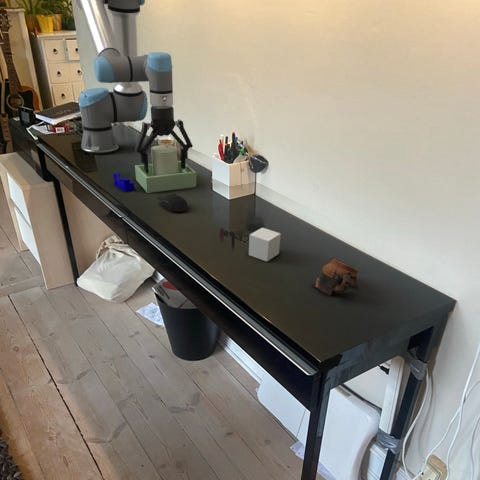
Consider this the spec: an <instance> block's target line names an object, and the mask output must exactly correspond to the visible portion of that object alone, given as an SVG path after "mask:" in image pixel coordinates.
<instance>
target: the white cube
mask: <svg viewBox="0 0 480 480" xmlns="http://www.w3.org/2000/svg"><path fill="white" fill-rule="evenodd" d="M281 236H282V234H281V233H280V232H277V231H274V230H271V229H268V228H265V227H261V228H259V229H257V230H255V231H253V232H252V233H250V234H249V238H248V239H249V241H248V256H250V257H253V258H256V259H258V260H262V261H264V262H269V261H271V260H272V259H273V258H275V257H276V256H278V255H279V254H280V247H281Z"/></svg>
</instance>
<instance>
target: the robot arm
mask: <svg viewBox="0 0 480 480" xmlns="http://www.w3.org/2000/svg"><path fill="white" fill-rule="evenodd" d="M75 1H76V2H75V3H76V4H77V6H78V8H79V9H80V10H81V11H82V14H83V16H84V20H85V23H86V27H87V30H88V32H89V35H90V38H91V41H92V45H93V49H94V52H95V54H96V56H95V57H94V59H93V70H94V71H93V72H94V74H95V78H96V81H98V82H99V83H102V84H103V83H104V84H114V85H113V86H112V88H113V90H112V91H109V89H108V88H106V87H93V88H88V89H86V90H83V91H81V92H80V93H79V95H78V96H79V97H78V100H79V107H80V114H81V115H80V116H81V120H82V121H81V122H82V130H83V133H81V132H80V127H81V126H80V123H79V121H78V120H76V119H74V120H72V121H73V122H75V123H76V124H77V133H78V135H80V136H81V137H82V138H81V143H80V144H81V146H80V147H81V151H82V152H83V153H86V154H90V155H108V154H112V153H116V152H117V151H119V149H120V148H119V142H118V140H117V138H116V135H115V133H114V131H113V123H131V122H133V123H135V122H140V121H142V123H141V130H140V133H139V135H138V138H137V141H136V144H135V146H134V151H135V152H136V153H138V154H140V162H141V163H142V164H143V165H144V171H145V172H146V173H149V169H148V164H149V157H148V153H147V151H148V150H149V148H150V147H151V145H152V144H153V142H154V141H155V139H156V138H157V137H158V136H159V137H163V136H166V137H169V135H170V136H172V137H173V139H174V140H176V142H177V144H179V145H180V146H181V148H180V149H179V151H180V161H181V167H182V168H183V169H186V166H185V163H186V160H187V159H188V158H189V155H188V153H189V152H188V151H189V150H190V149H192V148H193V147H194V145H193V142H192V141H191V139H190V137H189V135H188V133H187V131H186V129H185V125H184V121H183V120H181V119H180V118H179V119H177V120H175V114H174V112H175V111H174V110H175V109H174V107H173V105H174V91H173V90H174V89H173V88H174V87H173V62H172V56H171V54H170V53H168V52H163V51H161V52H160V51H158V52H156V51H155V52H149V53H148V54H143V55H141V56H140V55H138V33H137V32H138V31H137V30H138V29H137V27H138V26H137V16H138V15H139V14H140V13H141V7H142V6H144V5H145V4H146V0H75ZM105 5H107V10H108V11H109V12H110V13H111V15H112V25H111V22H110V19H109V15H108V13H107V10H106V7H105ZM112 26H113V27H112ZM142 82H143V83H144V82H148V87H149V104H150V105H151V107H150V118H151V119H150V122H145V121H143V120H145V118H146V117H147V113H148V107H149V105H148V95H147V93H146V91H145V90H143V87H142V85H141V84H140V83H142ZM175 127H177V128H178V129H179V132H180V134H181V136H182V138H183V140H184V141H183V140H182V138H181V137H180V136H178V134H177V133H176V132H175V131H174V129H175ZM150 128H151V129H152V130H151V131H150V134H149V136H148V137H147V138H146V136H147V133H148V131H149V130H150Z"/></svg>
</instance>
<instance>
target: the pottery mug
mask: <svg viewBox="0 0 480 480" xmlns="http://www.w3.org/2000/svg"><path fill="white" fill-rule="evenodd" d="M321 270H322V271H321V273H320V276H319V277H317V278H316V280H315V288H317V289H318V290H319V291H320V292H322V293H324V294H326V295H327V296H332V293H333V292H335V294H337V295H341V294H344V293H345V292H346V291H347V290H348V289H349V288H350V285H351V287H356V285H357V282H358V281H357V280H358V276H357V274H358V273H359V270H358V269H356V268H355V267H353V266H352V265H349V264H348V263H346V262H343V261H341V260H339V259H338V258H335V257H330V258H329V261H327V262H326V263H324V264H323V265H322V269H321ZM336 276H337V278H336Z"/></svg>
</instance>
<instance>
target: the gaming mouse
mask: <svg viewBox="0 0 480 480" xmlns="http://www.w3.org/2000/svg"><path fill="white" fill-rule="evenodd" d="M159 199H160V204H161V206H162V207H164V208H165V209H167V210H168V211H169V212H173V213H174V212H175V213H177V212H178V213H180V212H184V211H187V210H188V209H189V205H188V202H187V200H186V199H185V198H184V197H182V196H180V195H178V194H174V193H166V195H165V196H164V197H159Z"/></svg>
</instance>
